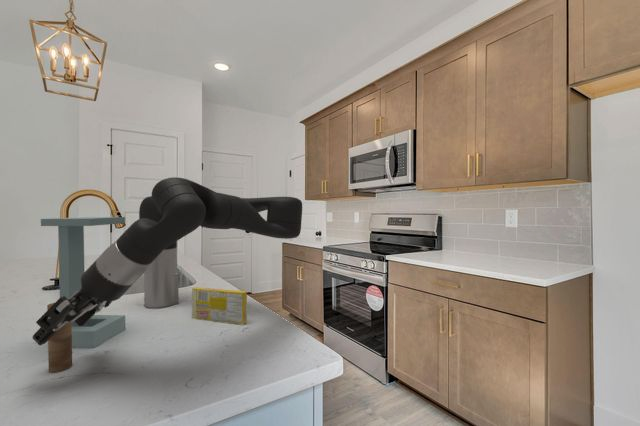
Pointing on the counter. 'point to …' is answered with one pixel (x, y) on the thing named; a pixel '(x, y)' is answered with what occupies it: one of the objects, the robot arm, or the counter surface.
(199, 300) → the candy box
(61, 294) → the socket stand
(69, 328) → the peg
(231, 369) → the counter surface
